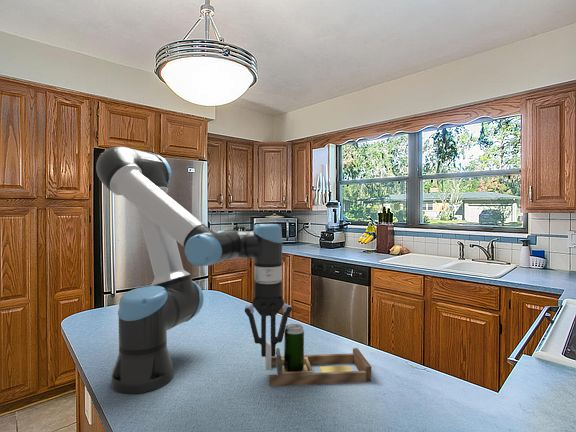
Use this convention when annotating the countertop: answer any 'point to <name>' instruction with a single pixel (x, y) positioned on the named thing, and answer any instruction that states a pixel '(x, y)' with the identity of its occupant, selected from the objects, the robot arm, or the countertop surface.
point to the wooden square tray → (282, 371)
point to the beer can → (294, 348)
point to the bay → (327, 370)
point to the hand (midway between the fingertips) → (268, 367)
